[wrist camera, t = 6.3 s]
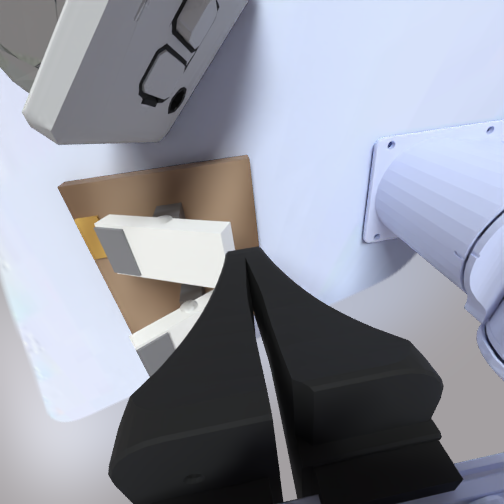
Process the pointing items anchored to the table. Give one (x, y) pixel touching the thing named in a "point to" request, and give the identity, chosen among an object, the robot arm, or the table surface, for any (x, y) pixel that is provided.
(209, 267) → the front rocker
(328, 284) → the table surface
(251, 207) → the switch board
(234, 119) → the table surface
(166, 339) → the block
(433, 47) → the table surface
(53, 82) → the electrical switch
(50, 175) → the table surface
